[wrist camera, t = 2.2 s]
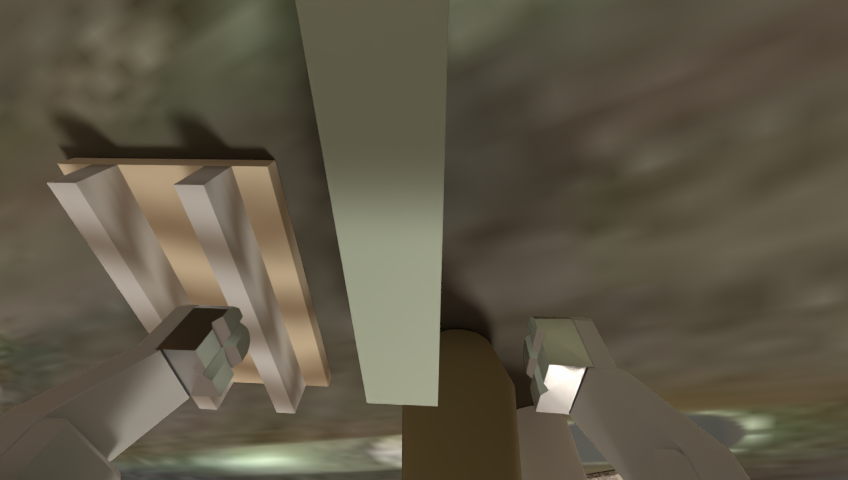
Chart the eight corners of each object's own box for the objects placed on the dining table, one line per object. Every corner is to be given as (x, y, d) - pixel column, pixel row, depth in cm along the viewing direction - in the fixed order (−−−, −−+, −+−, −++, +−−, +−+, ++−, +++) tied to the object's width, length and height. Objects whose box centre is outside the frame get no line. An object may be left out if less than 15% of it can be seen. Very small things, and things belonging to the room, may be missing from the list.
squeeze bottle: (496, 385, 29) (549, 767, 14) (405, 376, 29) (362, 748, 14) (518, 322, 25) (627, 779, 10) (410, 311, 25) (357, 753, 10)
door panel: (379, 8, 15) (293, -7, 6) (447, 7, 15) (448, -10, 6) (396, 261, 22) (367, 402, 14) (440, 262, 22) (437, 406, 14)
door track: (74, 157, 19) (8, 182, 17) (274, 160, 19) (243, 185, 16) (202, 370, 30) (176, 407, 28) (331, 376, 30) (319, 414, 27)
